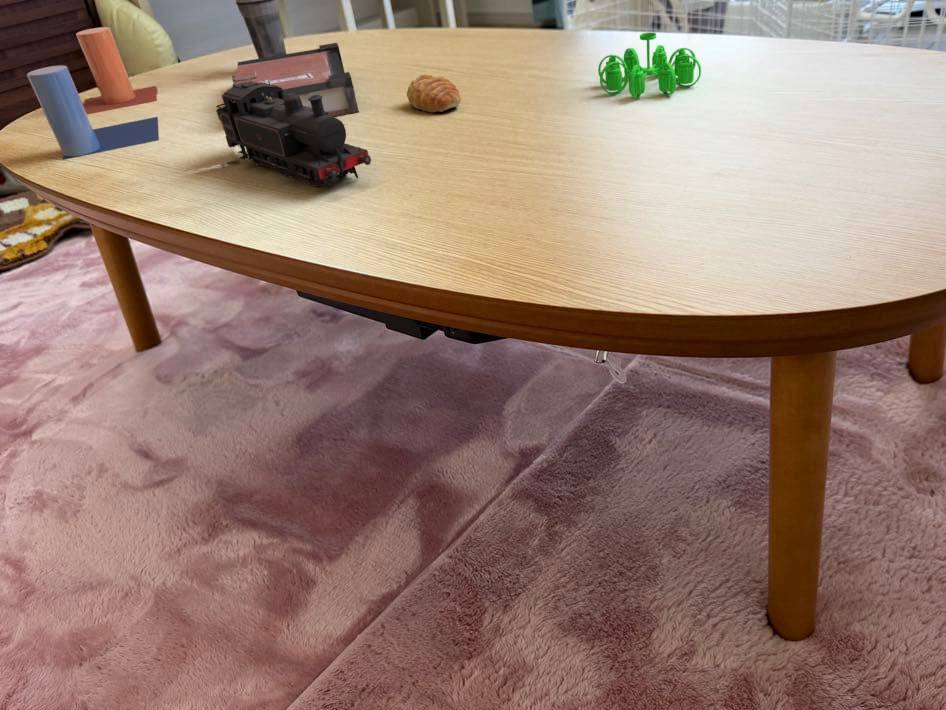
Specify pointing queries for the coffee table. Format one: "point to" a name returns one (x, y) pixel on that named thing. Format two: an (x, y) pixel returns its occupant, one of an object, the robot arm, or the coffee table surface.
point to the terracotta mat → (141, 97)
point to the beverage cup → (263, 26)
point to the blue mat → (126, 135)
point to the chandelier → (649, 70)
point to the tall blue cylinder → (64, 110)
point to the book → (305, 77)
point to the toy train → (288, 133)
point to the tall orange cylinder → (106, 65)
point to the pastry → (433, 93)
